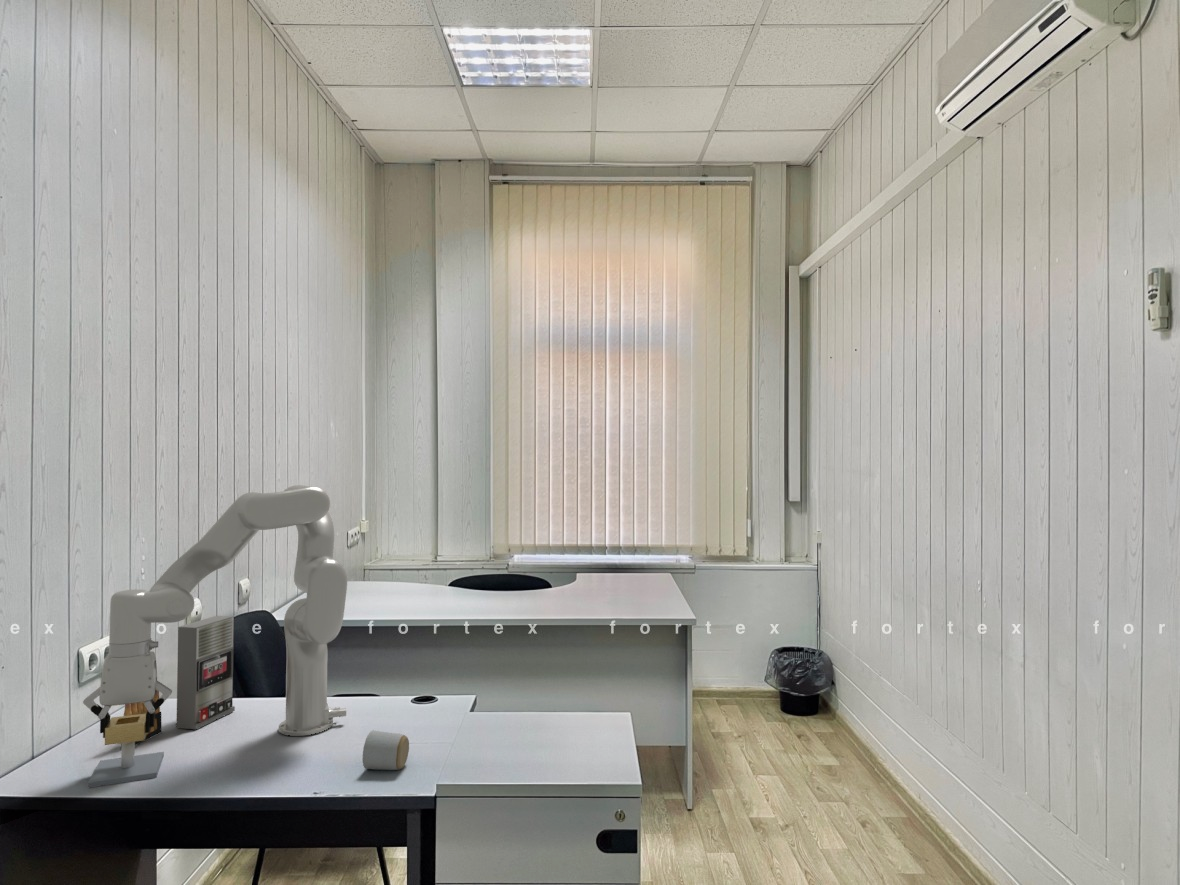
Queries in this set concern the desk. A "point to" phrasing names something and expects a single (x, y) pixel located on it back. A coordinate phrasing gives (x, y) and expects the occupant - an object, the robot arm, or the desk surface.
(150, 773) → the post plate
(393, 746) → the grey tan-ended cylinder
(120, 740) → the collar
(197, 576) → the robot arm
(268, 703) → the desk surface
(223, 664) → the cassette tape recorder
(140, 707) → the ammunition clip
